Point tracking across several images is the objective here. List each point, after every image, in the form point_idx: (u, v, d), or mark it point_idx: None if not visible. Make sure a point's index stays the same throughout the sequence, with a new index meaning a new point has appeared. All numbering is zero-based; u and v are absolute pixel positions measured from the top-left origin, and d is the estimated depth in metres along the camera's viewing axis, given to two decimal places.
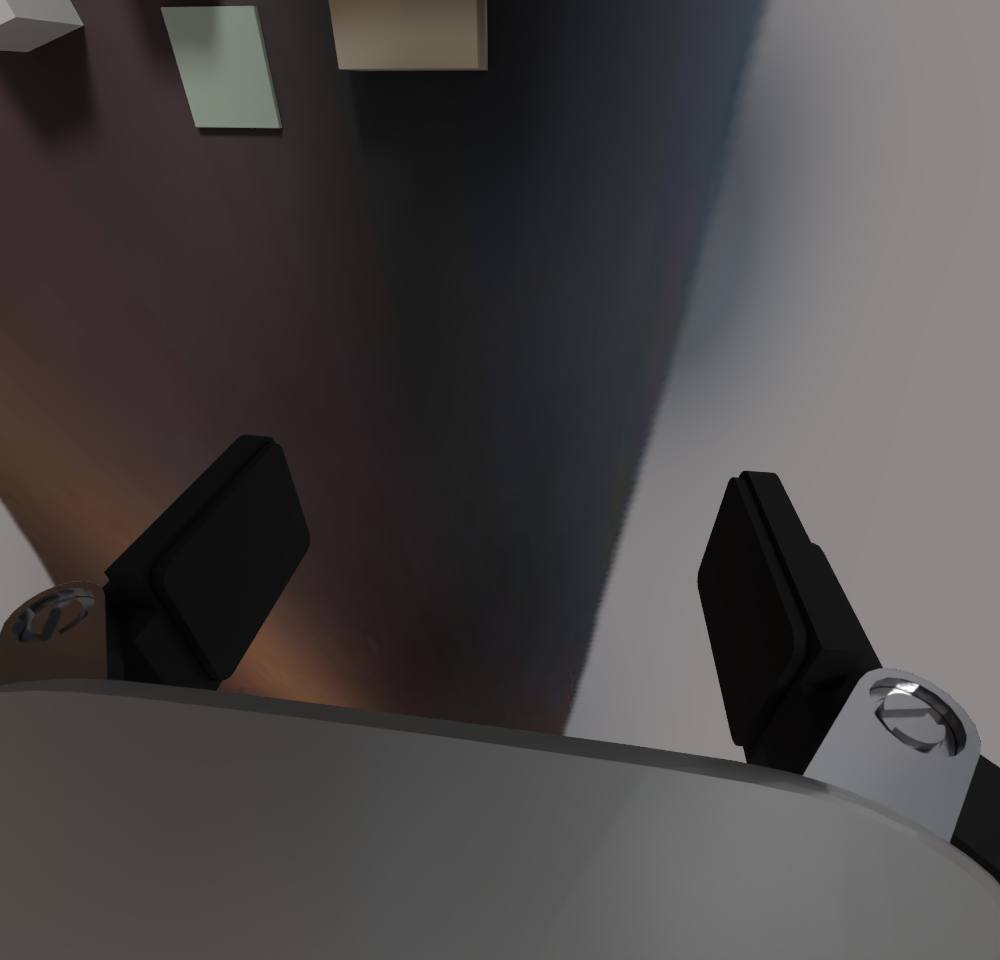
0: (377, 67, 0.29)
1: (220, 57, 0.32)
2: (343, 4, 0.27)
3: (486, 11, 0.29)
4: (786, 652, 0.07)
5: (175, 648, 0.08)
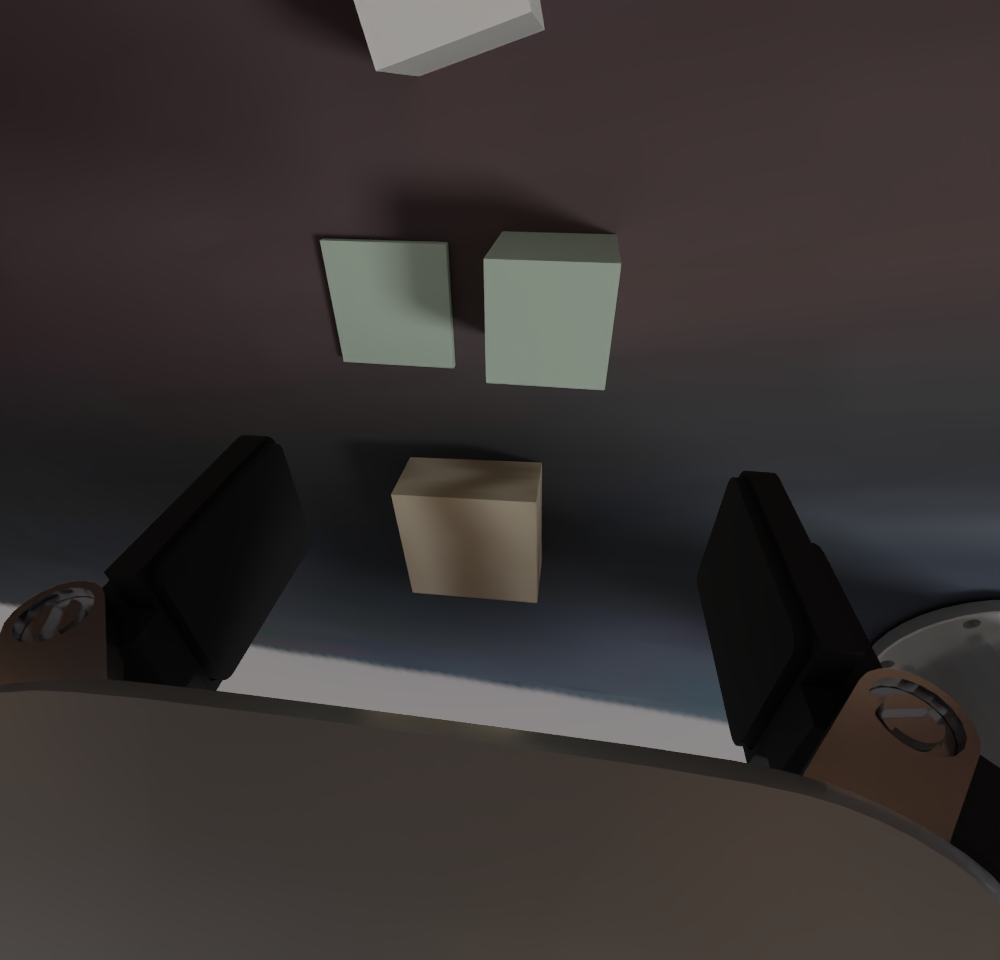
0: (398, 525, 0.29)
1: (403, 309, 0.25)
2: (440, 508, 0.28)
3: None
4: (786, 652, 0.07)
5: (175, 648, 0.08)
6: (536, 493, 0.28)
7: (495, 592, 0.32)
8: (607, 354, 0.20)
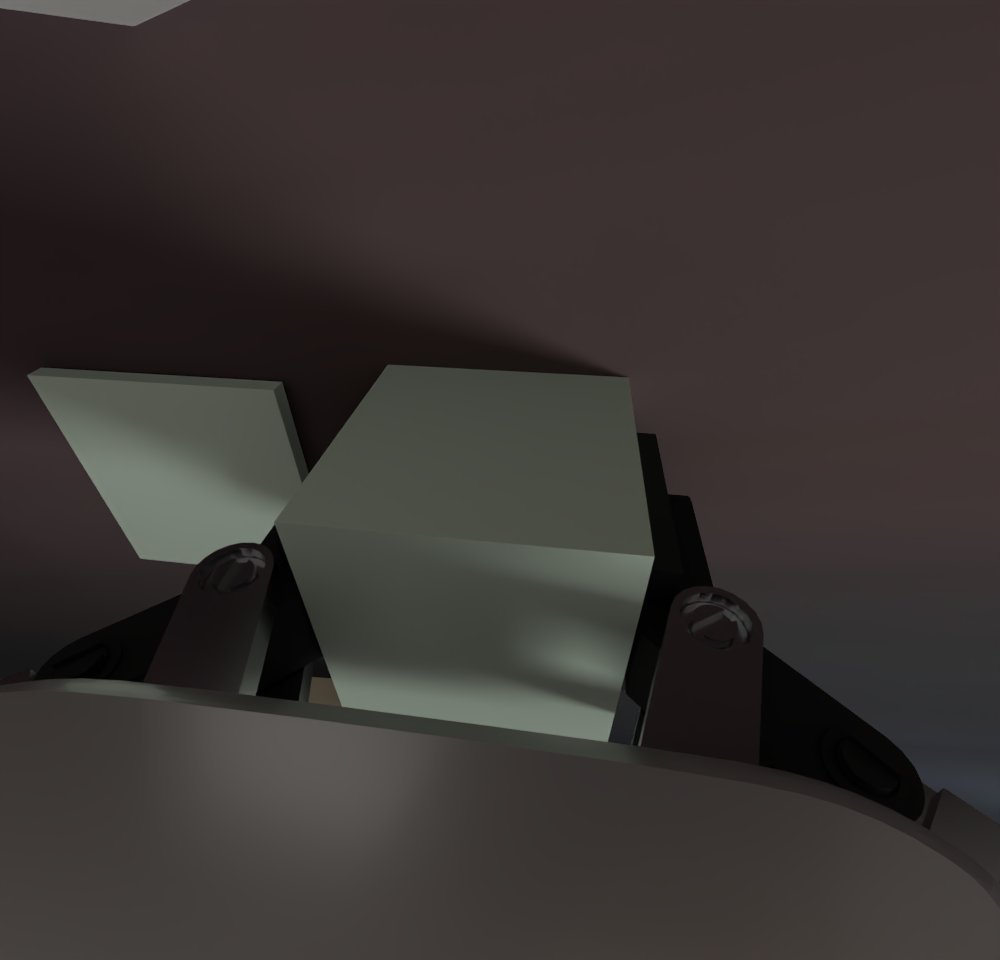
0: None
1: (219, 491, 0.13)
2: None
3: None
4: None
5: None
6: None
7: None
8: (612, 702, 0.08)
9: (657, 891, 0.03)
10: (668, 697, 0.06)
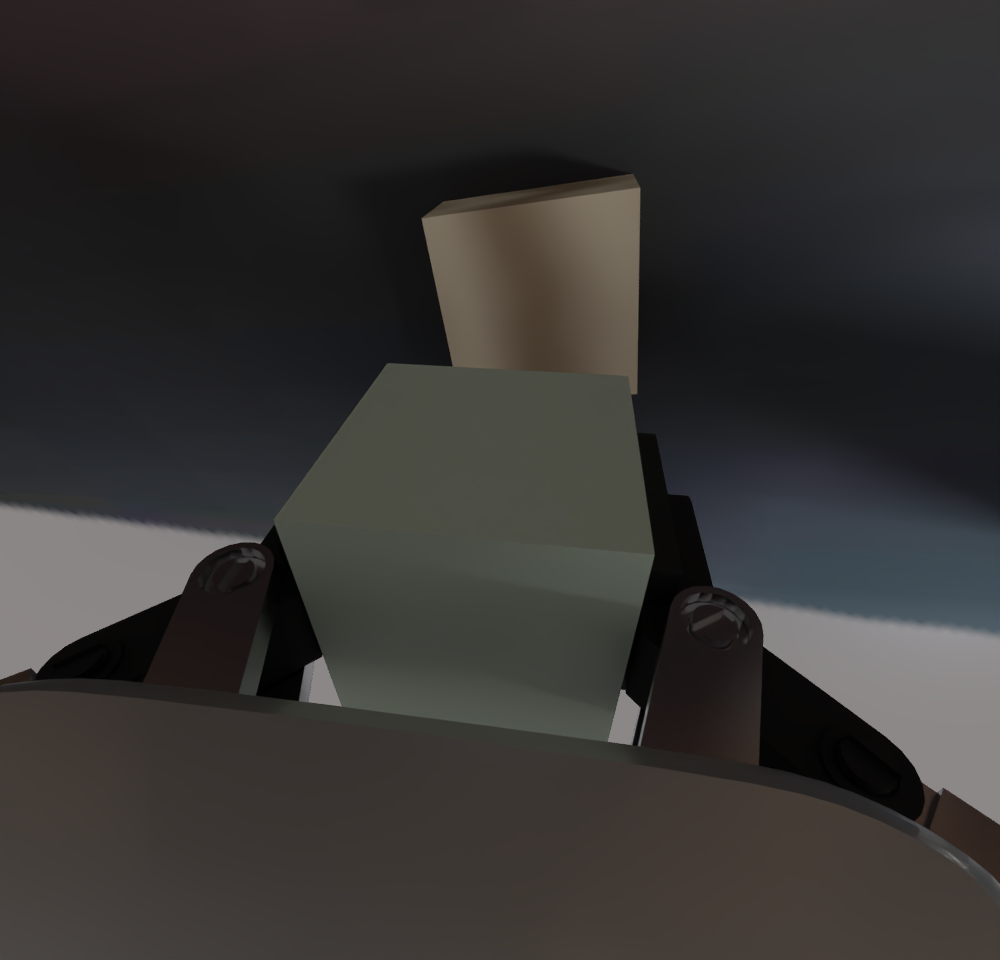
0: (436, 280, 0.21)
1: None
2: (494, 232, 0.19)
3: None
4: None
5: None
6: (637, 185, 0.18)
7: None
8: (613, 701, 0.08)
9: (657, 891, 0.03)
10: (667, 697, 0.06)
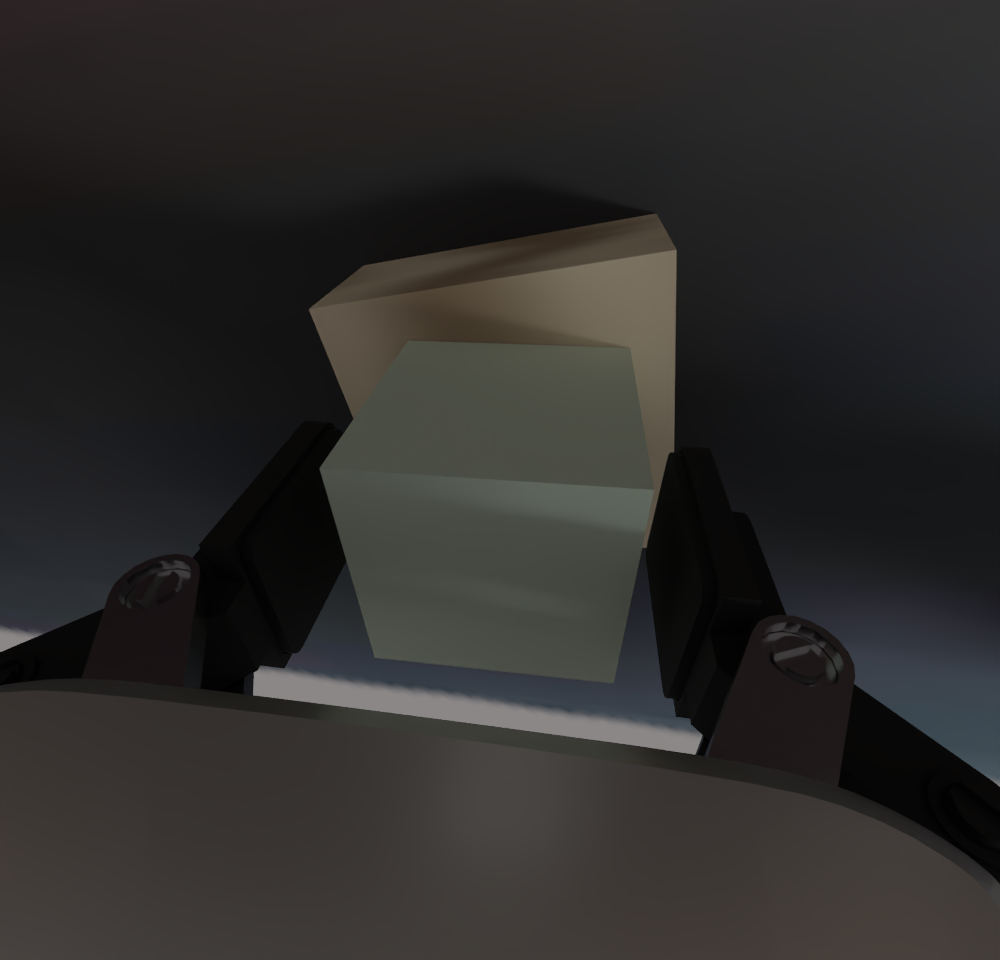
0: (347, 397, 0.13)
1: None
2: (429, 326, 0.12)
3: None
4: (697, 603, 0.07)
5: (257, 620, 0.09)
6: (668, 241, 0.11)
7: None
8: (619, 635, 0.09)
9: (657, 891, 0.03)
10: (763, 741, 0.06)
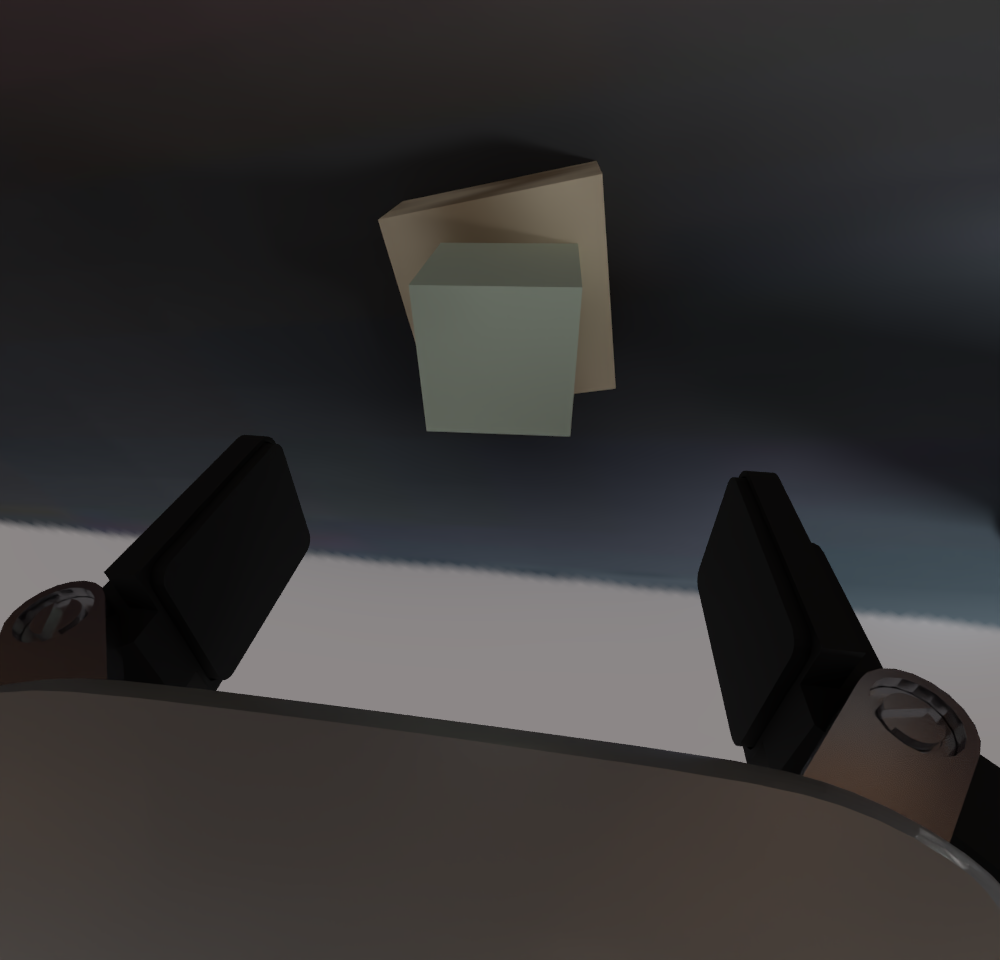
0: (398, 283, 0.20)
1: None
2: (454, 229, 0.18)
3: None
4: (786, 652, 0.07)
5: (175, 648, 0.08)
6: (599, 171, 0.18)
7: None
8: (571, 395, 0.17)
9: (657, 891, 0.03)
10: None
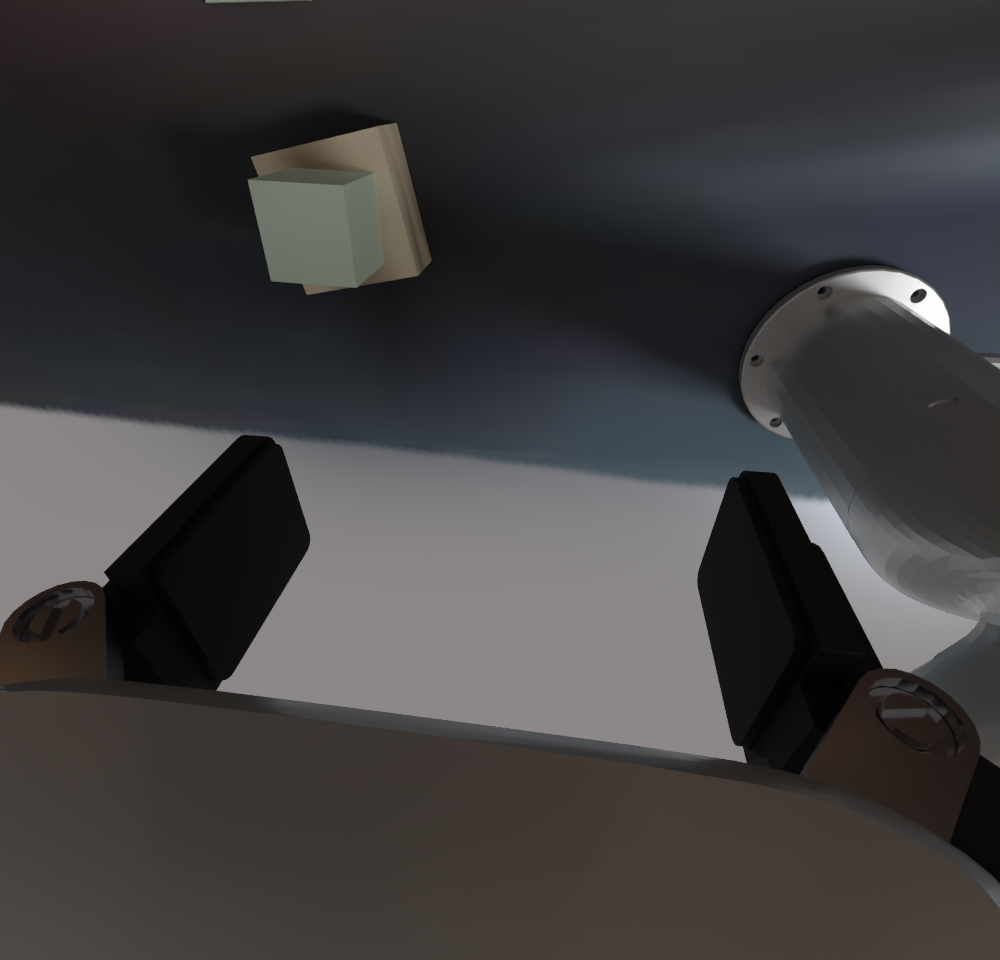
0: None
1: None
2: (297, 163, 0.30)
3: None
4: (786, 652, 0.07)
5: (175, 648, 0.08)
6: (381, 126, 0.29)
7: (377, 271, 0.33)
8: (351, 258, 0.28)
9: (657, 891, 0.03)
10: None
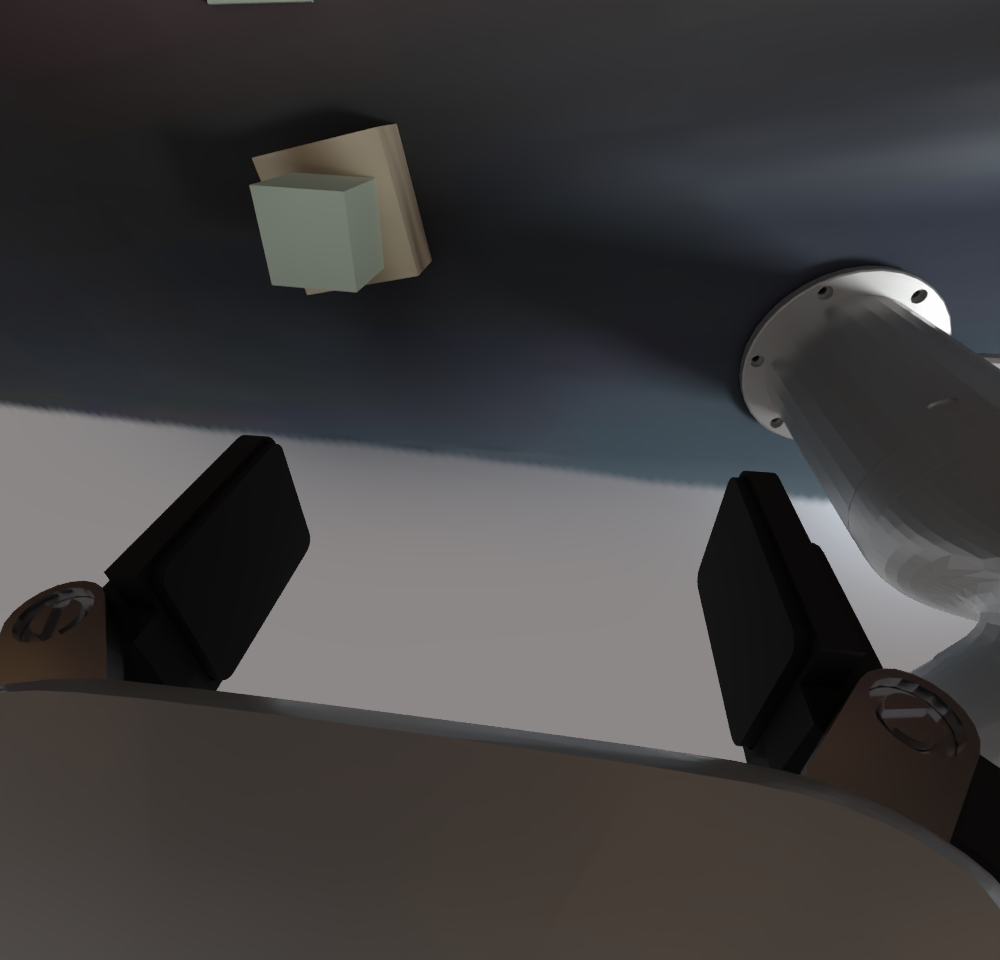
0: None
1: None
2: (297, 163, 0.30)
3: None
4: (786, 652, 0.07)
5: (175, 648, 0.08)
6: (381, 126, 0.29)
7: None
8: (351, 263, 0.28)
9: (657, 891, 0.03)
10: None
